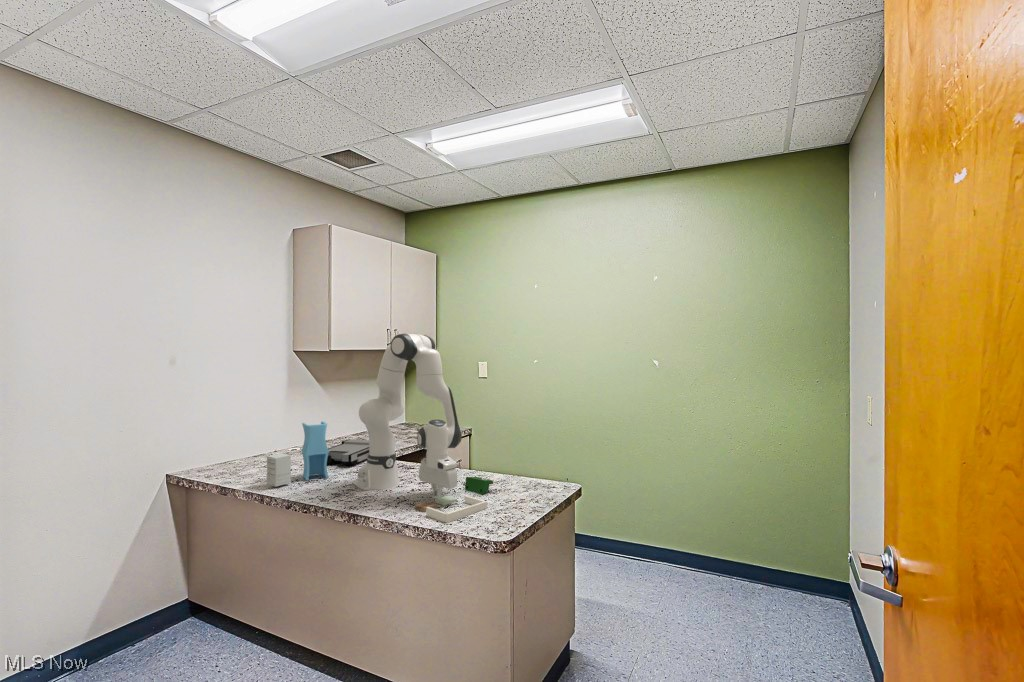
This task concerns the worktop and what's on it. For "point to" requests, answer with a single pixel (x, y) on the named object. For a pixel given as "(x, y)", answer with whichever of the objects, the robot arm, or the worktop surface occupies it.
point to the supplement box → (278, 469)
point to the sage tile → (446, 500)
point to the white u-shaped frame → (451, 516)
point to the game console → (349, 452)
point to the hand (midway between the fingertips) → (437, 495)
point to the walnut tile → (423, 506)
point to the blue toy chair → (315, 450)
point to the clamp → (477, 485)
